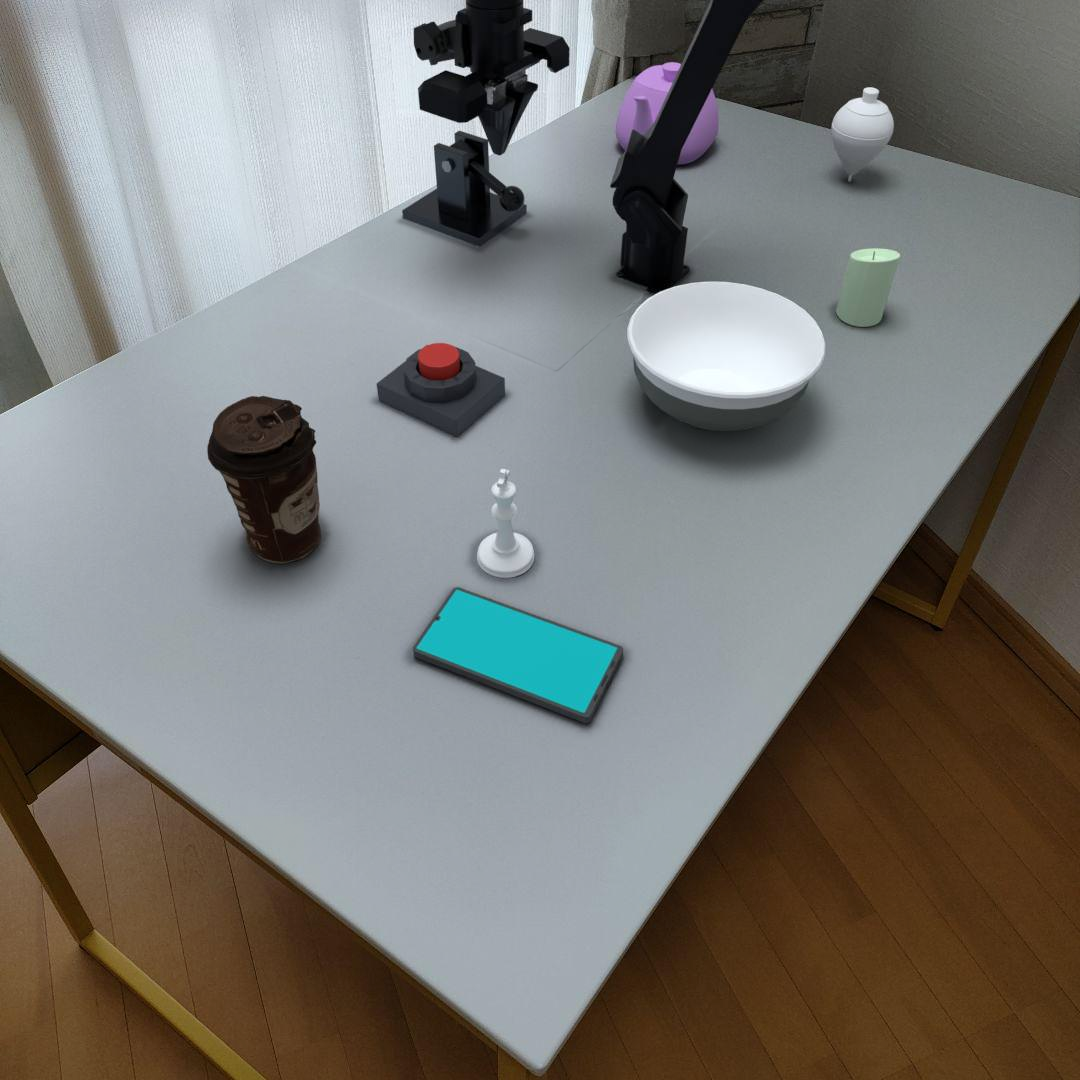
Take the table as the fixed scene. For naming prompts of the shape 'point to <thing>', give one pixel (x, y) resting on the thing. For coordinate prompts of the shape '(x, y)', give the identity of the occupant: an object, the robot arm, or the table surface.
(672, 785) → the table surface
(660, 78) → the teapot
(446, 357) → the red button
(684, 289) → the bowl
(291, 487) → the coffee cup
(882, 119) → the spinning top
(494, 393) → the control block
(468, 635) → the smartphone
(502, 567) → the chess piece
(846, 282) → the candle
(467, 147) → the black lever
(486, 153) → the lever bracket
